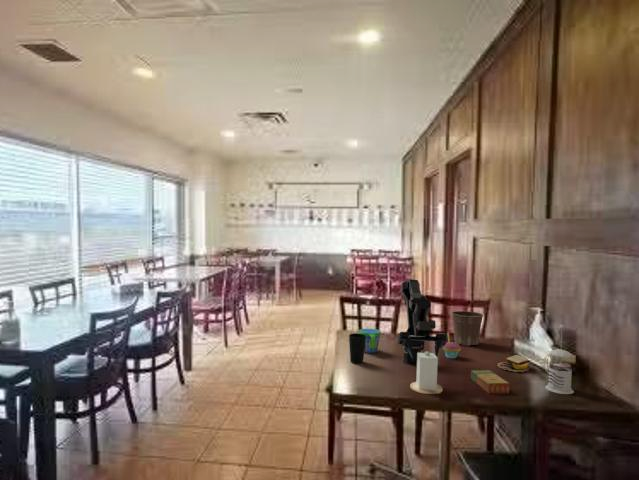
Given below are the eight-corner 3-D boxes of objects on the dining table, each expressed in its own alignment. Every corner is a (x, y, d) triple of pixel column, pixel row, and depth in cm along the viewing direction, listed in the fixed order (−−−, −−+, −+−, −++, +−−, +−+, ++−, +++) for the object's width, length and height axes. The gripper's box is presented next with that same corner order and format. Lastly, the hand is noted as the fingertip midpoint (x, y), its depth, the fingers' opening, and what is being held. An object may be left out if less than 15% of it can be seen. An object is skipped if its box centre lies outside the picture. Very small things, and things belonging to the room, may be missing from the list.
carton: (487, 394, 166) (488, 382, 166) (470, 379, 182) (470, 369, 182) (509, 394, 167) (510, 382, 167) (490, 379, 183) (490, 369, 183)
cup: (364, 365, 197) (365, 338, 196) (347, 363, 198) (347, 336, 198) (366, 360, 204) (366, 334, 204) (349, 359, 206) (350, 332, 205)
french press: (561, 395, 166) (564, 328, 166) (535, 385, 177) (537, 321, 176) (580, 392, 170) (582, 326, 170) (553, 382, 181) (555, 320, 180)
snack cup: (357, 347, 227) (357, 326, 227) (378, 347, 227) (378, 327, 227) (360, 355, 212) (360, 334, 211) (382, 356, 212) (383, 334, 211)
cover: (416, 383, 173) (417, 349, 173) (433, 384, 173) (434, 350, 172) (419, 389, 167) (420, 354, 166) (436, 390, 166) (437, 354, 166)
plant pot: (445, 339, 248) (446, 310, 247) (473, 339, 249) (475, 310, 249) (458, 347, 231) (459, 316, 231) (488, 347, 233) (489, 316, 233)
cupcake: (440, 358, 211) (441, 332, 211) (443, 353, 219) (443, 329, 219) (459, 360, 208) (460, 334, 208) (461, 356, 216) (462, 331, 215)
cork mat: (429, 381, 178) (429, 380, 178) (449, 392, 167) (449, 390, 167) (403, 384, 173) (403, 383, 173) (422, 395, 162) (422, 394, 162)
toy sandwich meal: (491, 365, 202) (491, 355, 202) (516, 363, 206) (517, 353, 206) (510, 374, 190) (511, 363, 190) (537, 372, 194) (537, 361, 194)
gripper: (400, 311, 180) (402, 346, 169) (447, 313, 179) (453, 348, 168) (397, 326, 188) (399, 360, 177) (442, 328, 187) (447, 362, 176)
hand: (424, 358), depth 175 cm, fingers open, 9 cm apart
